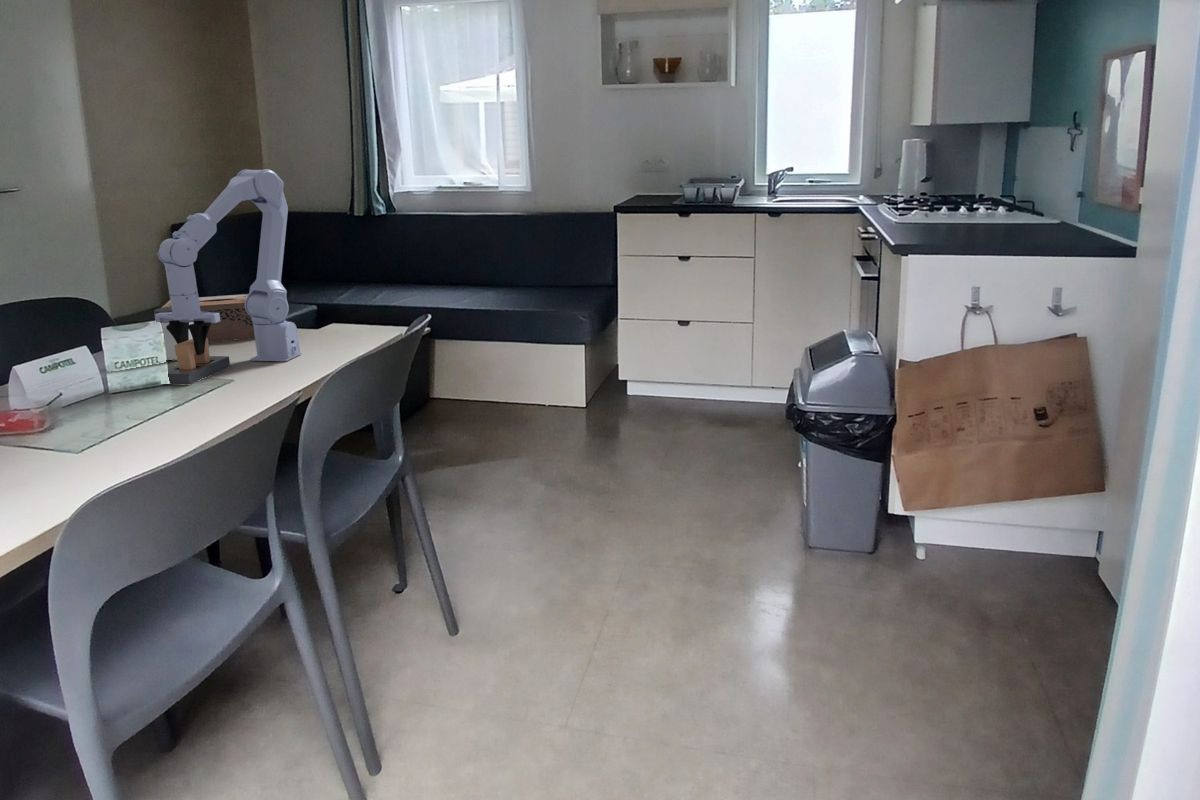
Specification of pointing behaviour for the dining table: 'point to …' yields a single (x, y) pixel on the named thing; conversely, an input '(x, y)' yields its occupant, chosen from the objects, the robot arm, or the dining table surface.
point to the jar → (169, 334)
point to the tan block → (190, 354)
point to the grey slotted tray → (198, 370)
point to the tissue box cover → (227, 317)
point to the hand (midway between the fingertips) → (193, 354)
